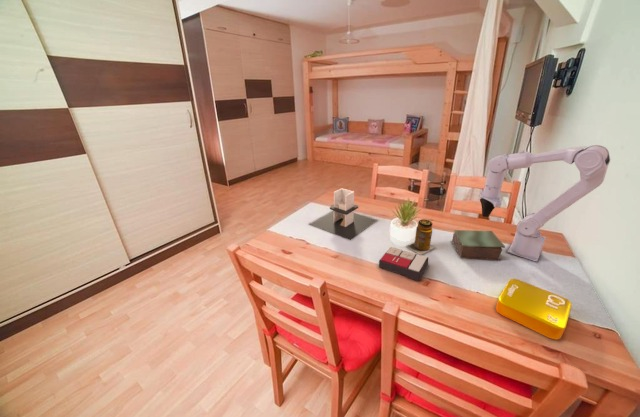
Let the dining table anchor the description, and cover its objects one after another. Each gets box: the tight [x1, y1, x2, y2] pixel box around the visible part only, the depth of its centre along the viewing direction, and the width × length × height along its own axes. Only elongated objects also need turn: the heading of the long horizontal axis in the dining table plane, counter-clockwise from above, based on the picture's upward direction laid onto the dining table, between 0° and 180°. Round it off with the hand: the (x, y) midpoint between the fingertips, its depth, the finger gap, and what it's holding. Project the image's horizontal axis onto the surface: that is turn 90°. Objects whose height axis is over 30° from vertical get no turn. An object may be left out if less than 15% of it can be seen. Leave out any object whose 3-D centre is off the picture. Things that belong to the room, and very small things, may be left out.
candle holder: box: [309, 188, 378, 241], centre depth 129 cm, size 25×24×16 cm
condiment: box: [406, 218, 434, 256], centre depth 107 cm, size 7×8×12 cm
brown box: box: [451, 231, 503, 261], centre depth 105 cm, size 14×12×5 cm
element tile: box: [495, 278, 572, 341], centre depth 76 cm, size 15×15×5 cm
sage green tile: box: [453, 229, 506, 249], centre depth 103 cm, size 14×12×1 cm
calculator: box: [378, 246, 429, 282], centre depth 97 cm, size 11×4×15 cm
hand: (485, 216), depth 111 cm, fingers closed
